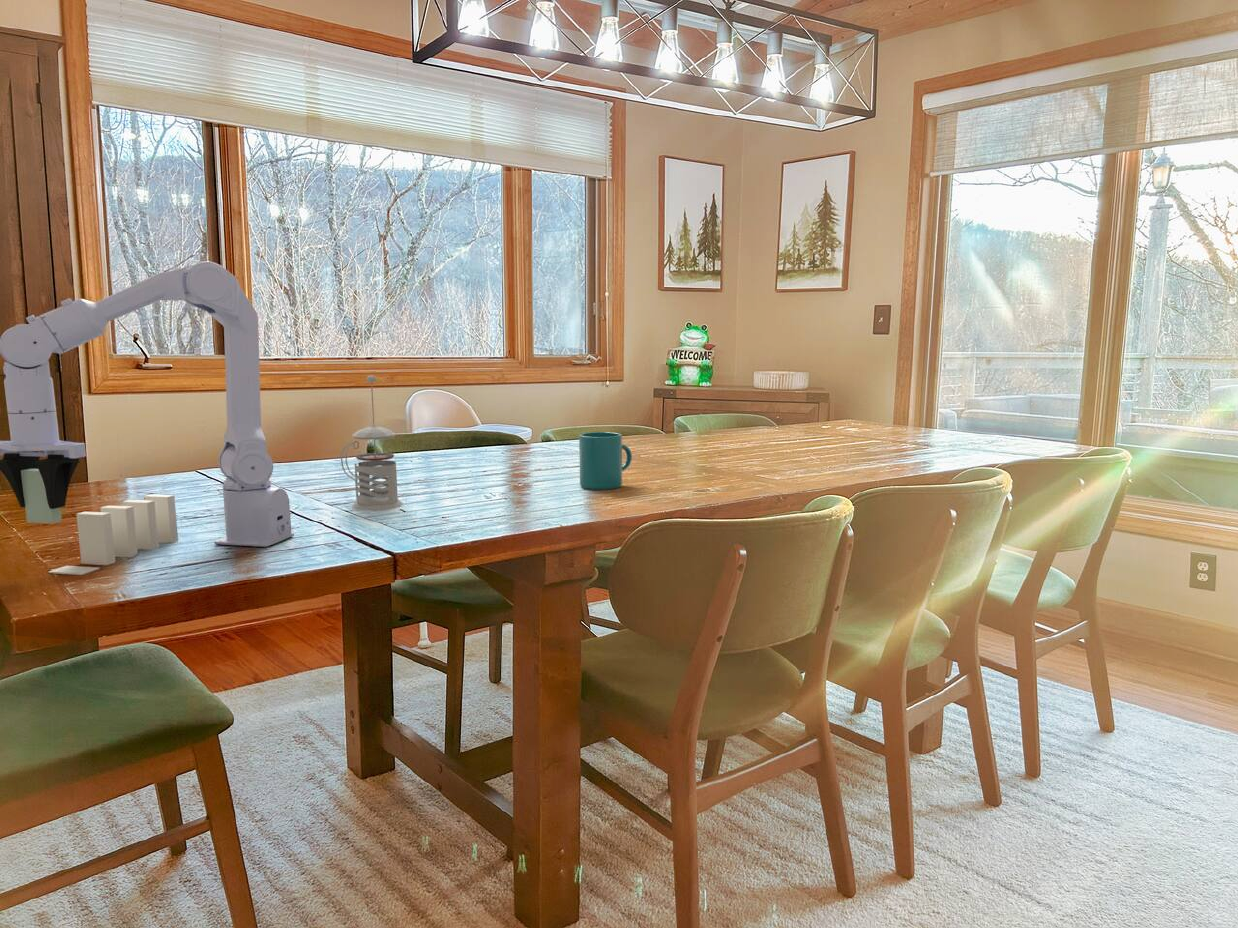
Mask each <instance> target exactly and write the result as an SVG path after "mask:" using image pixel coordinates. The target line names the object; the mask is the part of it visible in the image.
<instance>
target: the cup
mask: <svg viewBox="0 0 1238 928" xmlns="http://www.w3.org/2000/svg"><path fill="white" fill-rule="evenodd" d="M578 435H579V437H578V440H579V442H578V443H579V444H578V445H579V446H578V447H579V448H578V449H579V455H578V456H579V485H580V486H581V488H584V489H586V490H589V491H590V490H592V491H607V490H610V491H611V490H615V489H618V488H620V487H621V486H622V485H623V471H625V470H627V469H628V468H629V466H630V465H631V463H632V457H633V456H632V451H631V449H630V448H629V447H628V446H627V445H625V444H623V435H622V433H619V432H612V431H596V432H595V431H592V432H584V433H580V434H578ZM623 450H624V452H625V453H626V459H625V461H624V463H623Z"/></svg>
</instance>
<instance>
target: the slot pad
mask: <svg viewBox="0 0 1238 928" xmlns="http://www.w3.org/2000/svg"><path fill="white" fill-rule="evenodd" d="M100 569H101V568H100V567H94V566H92V567H91V566H80V565H79V566H78V565H77V566H76V565H64V566H62V567H58V568H55V569H52V570H50V571H48V574H57V575H58V574H60V575H74V576H75V575H76V576H83V575H86V574H90V573H92V572H95V571H98V570H100Z"/></svg>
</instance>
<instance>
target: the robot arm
mask: <svg viewBox="0 0 1238 928" xmlns="http://www.w3.org/2000/svg"><path fill="white" fill-rule="evenodd" d="M159 301H167V302H168V301H169V302H170V301H171V302H177V301H184V302H185V303H187V304H189V305H190V306H191V305H192V306H194V307H196V308H198V309H201V310H203V311H204V312H206V313H207V314H209V315H210V316H211V317H212V318H213V319H214V320H216V321H217V323H219V324H221V325H222V327H223V335H224V368H225V370H224V371H225V397H226V398H225V401H226V405H225V406H226V429H225V431H224V432H225V433H224V436H223V441H224V443H223V447H222V450H221V452H220V454H219V456H218V466H219V469H220V471H221V473H222V475H224V476H225V477H226V478H225V481H224V482H223V484H222V492H223V493H222V495H223V507H224V509H223V510H224V520H225V532H226V533H225V534H226V536H225V537H222V538H220V539H217V540H214V544H215V545H225V546H226V545H227V546H245V547H246V546H247V547H261V548H265V547H269V546H271V545H275V544H277V543H279V542H282V541H285V540H287V539H289V538H291V537H294V536H295V532H292V523H291V522H292V520H291V509H290V508H291V505H290V504H291V503H290V498H289V495H288V493H287V491H286V490H285V489H283V488H279V487H274V486H273V485H272V480H270V479H271V477H272V475H273V472H274V462H273V459H272V458H271V456H270V454H269V452H268V447H267V440H266V436H265V434H264V431H263V429H262V417H261V416H262V413H261V412H262V410H261V408H262V407H261V375H260V373H261V372H260V341H259V340H260V337H259V316H258V313H257V310H256V309H255V308H254V306H253V304H252V302H251V301H250V299H249V298H248V297H247V295H246V294H245V292H244V291H243V289H242V287H241V285H240V284H239V281H238V278H237V276H235V275H234V274H232V273H231V272H230V271H228V269H226V268H225V267H223V266H222V265H220V264H218V263H216V262H213V261H201V262H198V263H196V264H189V265H186V266H184V267H181V268H176V269H172V270H169V271H164V272H160V273H156V274H154V275H152V276H149V277H148V278H145V279H143V280H141V281H139V282H137V283H134V284H132V285H130V286H129V287H126V288H124V289H121V290H120V291H117V292H115V293H113V294H111V295H108V296H107V297H104V298H102V299H99V300H98V301H96V302H93V301H90V300H86V299H84V298H78V299H75V300H72V298H70V297H69V298H66V299H64V300H62V301H60V305H61V306H59V307H56V308H55V309H52V310H50V311H47V312H45V313H43V314H41V315H39V316H35V315H34V314H32V315H30V316H27V317H26V318H25V319H26V321H27V322H28V323H27V324H26V323H18V324H16V325H14V326H13V327H12V326H11V327H10V328H8V329H7V330H5V331H4V332H3V334H1V336H0V355H1V357H2V358H3V359H4V360H5V361H4V362H3V367H2V369H3V373H4V376H5V378H4V380H3V385H4V394H5V403H6V410H7V417H8V425H9V426H8V427H9V435H10V440H0V456H3V457H2V458H1V459H0V472H1V473H2V474H3V476H5V478H6V480H7V481H8V483H9V485H10V487H11V489H12V490H13V492H14V495H15V498H16V500H17V502H18V504H19V507H20V508H25V500H24V494H23V485H22V477H21V470H26V469H38V470H39V472H40V474H41V476H42V479H43V482H44V485H45V491H46V497H47V502H48V505H49V508H50V509H55V508H59V507H61V508H63V507H65V506H66V502H67V497H68V491H69V487H70V483H71V479H72V477H73V475H74V473H75V470H76V468H77V467H78V465H79V463H80V458H84V457H85V458H86V457H87V452H86V443H85V442H73V441H66V440H60V433H59V424H58V417H57V405H56V397H55V389H54V388H55V387H54V380H53V378H52V377H51V371H50V363H49V362H50V361H49V360H50V358H51V356H52V353H53V354H55V353H56V354H58V355H62V354H64V353H67V352H69V351H70V350H72V349H75V348H77V347H80V346H82V345H84V344H86V343H89V342H91V341H93V340H95V339H97V338H99V337H102V336H103V335H105V332H106V328H107V324H108V323H109V322H111V321H112V320H116V319H118V318H120V317H123V316H126V315H128V314H130V313H133V312H135V311H137V310H139V309H143V308H145V307H147V306H150V305H152V304H154V303H157V302H159ZM41 457H44V458H43V459H40V458H41ZM46 457H47V458H46Z"/></svg>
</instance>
